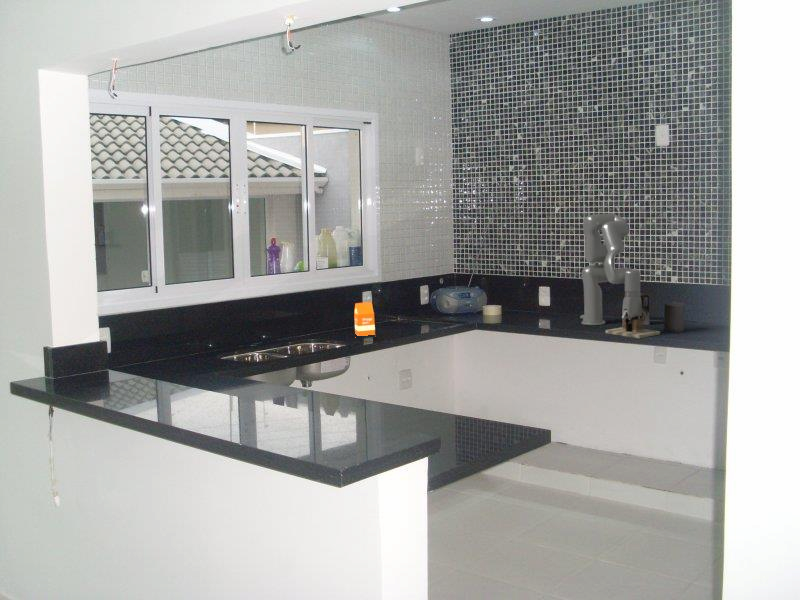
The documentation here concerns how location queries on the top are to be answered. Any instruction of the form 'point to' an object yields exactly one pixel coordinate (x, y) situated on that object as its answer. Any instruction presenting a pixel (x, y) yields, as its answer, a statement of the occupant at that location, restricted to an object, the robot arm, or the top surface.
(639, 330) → the block
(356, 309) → the orange juice
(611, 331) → the pine board
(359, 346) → the top surface
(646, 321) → the coffee box
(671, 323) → the pillar candle
